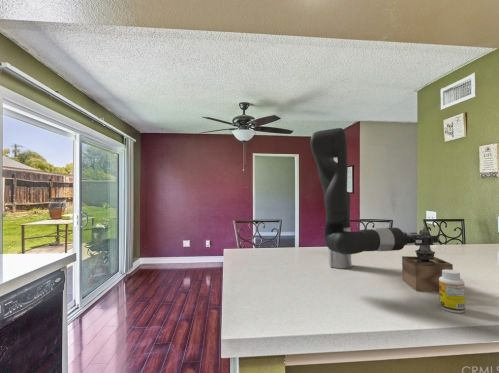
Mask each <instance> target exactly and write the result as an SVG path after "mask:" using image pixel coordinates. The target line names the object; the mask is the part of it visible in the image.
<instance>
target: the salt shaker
mask: <svg viewBox="0 0 499 373" xmlns="http://www.w3.org/2000/svg"><path fill="white" fill-rule="evenodd" d="M418 234H420V235H421V236H430V231H429V230H427V229H426V228H425V227H424V226H423V227H422V229H421V230H419V233H418ZM418 247H419V248H418V249H417V250H415V251H414V253H415V254H416V257H418V258H420V259H421V260H417V261H416V262H418V263H434V262H433V261H431V260H430V259H433V258H434V257H435V255H436V252H435V251H433V250H432V248H431V245H419V246H418Z"/></svg>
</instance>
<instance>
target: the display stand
mask: <svg viewBox="0 0 499 373" xmlns="http://www.w3.org/2000/svg"><path fill="white" fill-rule="evenodd" d="M417 260H421V259H420V258H418V257H417V256H415V255H414V256H411V255H410V256H409V255H406V256H404V255H403V256H401V261H402V262H401V266H402V272H401V273H402V281H403V282H404V283H405V284H407V285H408V286H409V287H411V289H413V290H415V292H436V293H440V292H439V278H440V277H441V276H442V270H445V269H447V270H454V267H453V266H454V265H453V264H454V263H451V262H448V261H445V260H443V259H441V258H438V257H436V256H434V258H433V259H430V260H431V261H433V262H434V263H418V262H416V261H417Z"/></svg>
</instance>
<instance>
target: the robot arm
mask: <svg viewBox="0 0 499 373" xmlns="http://www.w3.org/2000/svg"><path fill="white" fill-rule="evenodd" d="M309 143H310V149H311V153H312V156H313V157H314V161H315V163H316V167H317V171H318V177H319V181H320V184H321V188H322V190H323V191H322V192H323V199H324V207H325V208H324V209H325V215H326V220H325V227H324V242H325V245H326V247H327V248H328V265H329V267H330V268H336V269H350V268H352V262H353V261H352V255H355V254H360V253H363V252H391V251H392V252H394V251H401V250H403V249H404V248H405V246H412V245H414V246H417V247H420V245H430V246H433V245H434V244H437V243H439V236H438V235H429V236H421V235H420V234H419V233H417V232H414V231H413V232H406V231H403V230H402V229H400V228H398V227H378V228H372V229H371V228H370V229H358V230H357V231H351V194H350V191H348V172H349V170H348V167H349V165H348V141H347V135H346V131H345V130H344V128H341V127H338V128H337V127H336V128H330V129H323V130H318V131H315V132H313V133H312V134H311V137H310V141H309ZM334 158H336V159H337V161H335V160H334Z"/></svg>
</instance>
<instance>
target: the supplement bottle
mask: <svg viewBox="0 0 499 373" xmlns="http://www.w3.org/2000/svg"><path fill="white" fill-rule="evenodd" d="M438 293H439V305H440V307H441V309H443V310H444V311H446V312H450V313H456V314H462V313H465V312H466V297H465V296H466V294H465V293H466V292H465V281H464V279H462V278H461V272H460V271H458V270H456V269H453V270H447V269H445V270H442V276H441V277H440V278H439V292H438Z"/></svg>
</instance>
